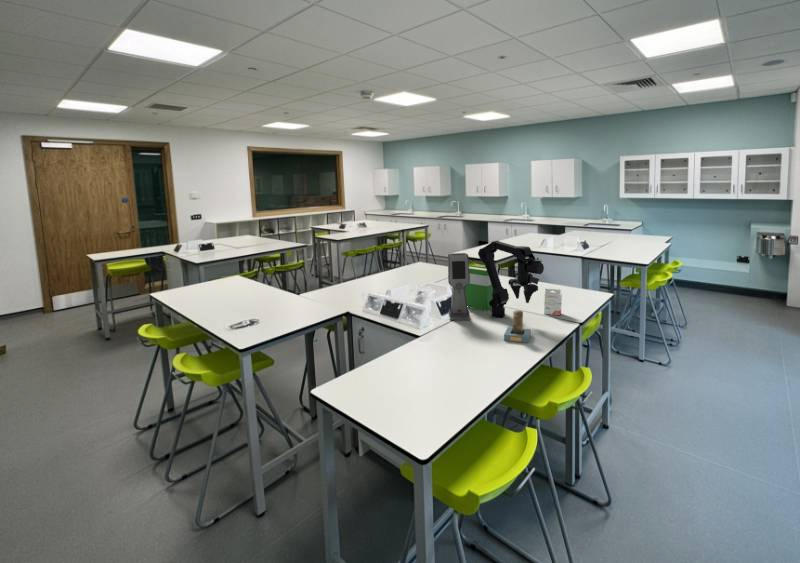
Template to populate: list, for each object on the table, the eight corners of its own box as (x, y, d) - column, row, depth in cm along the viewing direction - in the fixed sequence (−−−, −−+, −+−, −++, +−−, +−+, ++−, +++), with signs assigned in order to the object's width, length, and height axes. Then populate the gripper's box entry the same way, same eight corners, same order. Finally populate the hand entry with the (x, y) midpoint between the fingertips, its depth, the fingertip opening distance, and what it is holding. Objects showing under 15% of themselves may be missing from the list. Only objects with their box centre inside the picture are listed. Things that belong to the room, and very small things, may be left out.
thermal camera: (467, 313, 247) (467, 252, 239) (471, 320, 235) (471, 256, 227) (447, 313, 247) (446, 253, 239) (449, 320, 235) (448, 257, 227)
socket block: (503, 340, 203) (503, 334, 203) (507, 332, 213) (507, 327, 213) (527, 343, 199) (528, 337, 198) (530, 335, 209) (530, 329, 208)
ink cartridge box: (561, 313, 240) (562, 287, 237) (560, 316, 236) (561, 289, 232) (545, 311, 244) (546, 286, 241) (543, 314, 240) (544, 288, 236)
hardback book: (462, 306, 261) (461, 267, 255) (469, 302, 266) (468, 264, 260) (487, 311, 249) (487, 270, 243) (494, 307, 254) (494, 268, 248)
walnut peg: (512, 338, 205) (512, 312, 202) (513, 335, 209) (514, 310, 206) (521, 339, 204) (522, 313, 201) (522, 336, 208) (523, 310, 205)
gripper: (547, 273, 215) (546, 303, 218) (526, 266, 232) (525, 294, 235) (528, 275, 211) (527, 306, 215) (508, 268, 229) (507, 297, 232)
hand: (522, 300), depth 225 cm, fingers open, 9 cm apart
